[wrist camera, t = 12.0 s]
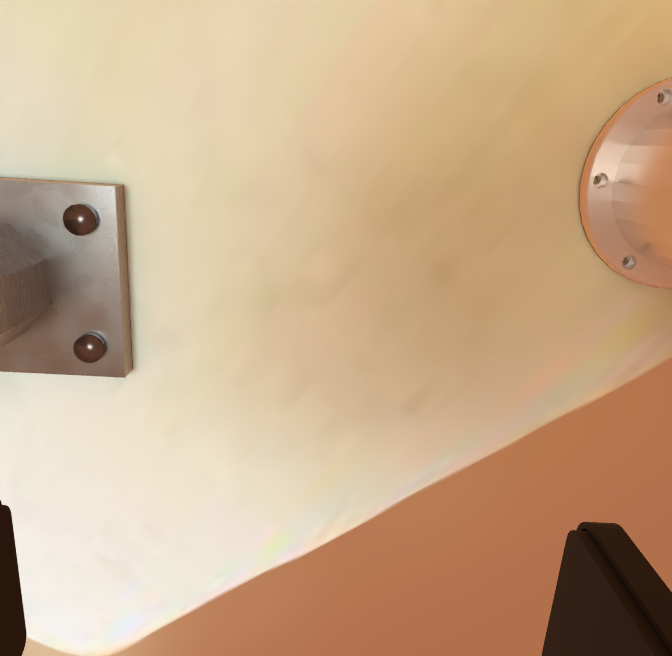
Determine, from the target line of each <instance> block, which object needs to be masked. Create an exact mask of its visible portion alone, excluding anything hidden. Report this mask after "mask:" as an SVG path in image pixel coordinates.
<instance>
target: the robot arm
mask: <svg viewBox="0 0 672 656" xmlns="http://www.w3.org/2000/svg"><path fill="white" fill-rule="evenodd" d="M658 95H659V96H660V100H659V102H657V96H658ZM595 176H597V177H598V181H597V182H596V183H595V184H594V182H593V180H594V178H595ZM580 211H581V217H582V223H583V226H584V229H585V232H586V234H587V237H588V240H589V242H590V243H591V245H592V246H593V248H594V249H595V251H596V253H597V254H598V256H599V257H600V258H601V259H602V260H603V261H604V262H605V263H606V264H607V265H608V266H609V267H610V268H612V269H614V270H615V271H617V272H618V273H620V274H621V275H623V276H624V277H627V278H629V279H631V280H634V281H636V282H638V283H641V284H645V285H648V286H652V287H656V288H671V289H672V78H671V79H668V80H665V81H662V82H659V83H656V84H655V85H653V86H651V87H649V88H647V89H646V90H644V91H642V92H640V93H638V94H637V95H636V96H635V97H633V98H632V99H631V100H630V101H628V102H627V103H626V104H625V105H623V106H622V107H621V108H620V109H619V110H618V111H617V112H616V113H615V114H614V116H613V117H612V118H611V119H610V120H609V121H608V122H607V123H606V125H605V126H604V128H603V129H602V131H601V132H600V134H599V136H598V137H597V139H596V140H595V142H594V144H593V146H592V148H591V151H590V153H589V155H588V158H587V160H586V163H585V166H584V170H583V175H582V179H581V183H580ZM625 257H626V260H625V262H624V263H622V262H623V259H624V258H625ZM25 643H26V626H25V618H24V610H23V603H22V595H21V587H20V579H19V571H18V563H17V556H16V548H15V540H14V532H13V524H12V516H11V511H10V508H9V507H8V506H6V505H2V504H1V501H0V656H22V653H23V650H24V647H25ZM542 656H672V592H671V591H670V590H669V588H668V587H667V586H666V585H665V583H664V582H663V581H662V579H661V578H660V577H659V575H658V574H657V573H656V571H655V570H654V569H653V567H652V566H651V565H650V564H649V562H648V561H647V560H646V558H645V557H644V556H643V554H642V553H641V552H640V550H639V549H638V548H637V547H636V545H635V544H634V543H633V542H632V540H631V539H630V537H629V536H628V535H627V533H626V532H625V531H624V530H623V528H622V527H621V526H619V525H618V524H615V523H596V522H582V523H580V525H579V526H578V528H577V530H572V531H570V532H569V533H568V536H567V539H566V544H565V548H564V553H563V557H562V562H561V567H560V572H559V576H558V581H557V586H556V590H555V595H554V600H553V605H552V609H551V613H550V618H549V623H548V627H547V632H546V637H545V641H544V647H543V651H542Z"/></svg>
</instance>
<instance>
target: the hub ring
mask: <svg viewBox="0 0 672 656" xmlns="http://www.w3.org/2000/svg"><path fill="white" fill-rule="evenodd" d="M50 306H51V300H50V290H49V279H48V269H47V259H46V258H45V257H44V256H43V255H42V254H40V253H39V252H38V251H37V250H36V249H35V248H34V247H33V246H32V245H31V244H30V243H29V242H28V241H27V240H26V239H24V238H23V237H22V236H21V235H20V234H19V233H18V232H17V231H16V230H15V229H14V228H13V227H12V226H11V225H10V224H9V223H0V348H1V347H3V346H5V345H6V344H8V343H10V342H11V341H13V340H14V339H16V338H18V337H19V336H21V335H22V334H23V333H24V332H25V331H26V330H27V329H28V328H29V327H30V326H31V325H32V324H33V323H34V322H35V321H36V320H37V319H38V318H39V317H40V316H41V315H42V314H43V313H44V312H45V311H46V310H47V309H48V308H49V307H50Z"/></svg>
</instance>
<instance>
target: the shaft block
mask: <svg viewBox="0 0 672 656" xmlns="http://www.w3.org/2000/svg"><path fill="white" fill-rule="evenodd" d="M0 223H9V224H10V225H11V226H12V227H13V228H14V229H15V230H16V231H17V232H18V233H19V234H20V235H21V236H22V237H23V238H24V239H26V240H27V241H28V242H29V243H30V244H31V245H32V246H33V247H34V248H35V249H36V250H37V251H38V252H39V253H40V254H42V255H43V256H44V257H45V258H46V259H47V269H48V279H49V290H50V300H51V306H50V307H49V308H48V309H47V310H46V311H45V312H44V313H43V314H42V315H41V316H40V317H39V318H38V319H37V320H36V321H35V322H34V323H33V324H32V325H31V326H30V327H29V328H28V329H27V330H26V331H25V332H24V333H23V334H22V335H21V336H19V337H18V338H16V339H14V340H13V341H11V342H10V343H8V344H6V345H5V346H3V347H1V348H0V371H4V372H25V373H45V374H65V375H85V376H106V377H126V376H127V375H128V374H129V372H130V371H131V370H132V369H133V367H132V347H131V326H130V306H129V286H128V266H127V245H126V225H125V205H124V185H119V184H102V183H85V182H68V181H52V180H35V179H18V178H2V177H0Z"/></svg>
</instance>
